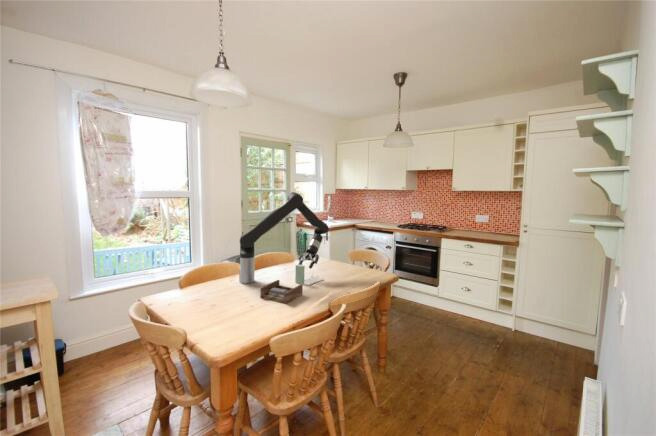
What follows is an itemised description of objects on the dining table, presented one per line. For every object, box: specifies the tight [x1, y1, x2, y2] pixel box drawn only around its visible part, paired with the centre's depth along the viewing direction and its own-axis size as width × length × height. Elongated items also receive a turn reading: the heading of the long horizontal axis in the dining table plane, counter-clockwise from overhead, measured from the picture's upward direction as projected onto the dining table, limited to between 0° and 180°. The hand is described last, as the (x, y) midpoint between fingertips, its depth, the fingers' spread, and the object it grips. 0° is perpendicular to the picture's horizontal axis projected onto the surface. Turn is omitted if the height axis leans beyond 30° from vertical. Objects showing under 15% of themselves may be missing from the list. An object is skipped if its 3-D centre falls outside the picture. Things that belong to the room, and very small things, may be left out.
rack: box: [259, 279, 303, 305], centre depth 164 cm, size 18×16×7 cm
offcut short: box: [270, 288, 287, 296], centre depth 163 cm, size 9×4×2 cm, turn 68°
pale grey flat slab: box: [303, 274, 324, 286], centre depth 191 cm, size 31×3×12 cm
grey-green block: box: [295, 264, 305, 285], centre depth 188 cm, size 5×3×12 cm, turn 62°
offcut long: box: [268, 292, 284, 299], centre depth 162 cm, size 12×5×2 cm, turn 62°
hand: (304, 267), depth 192 cm, fingers open, 8 cm apart
